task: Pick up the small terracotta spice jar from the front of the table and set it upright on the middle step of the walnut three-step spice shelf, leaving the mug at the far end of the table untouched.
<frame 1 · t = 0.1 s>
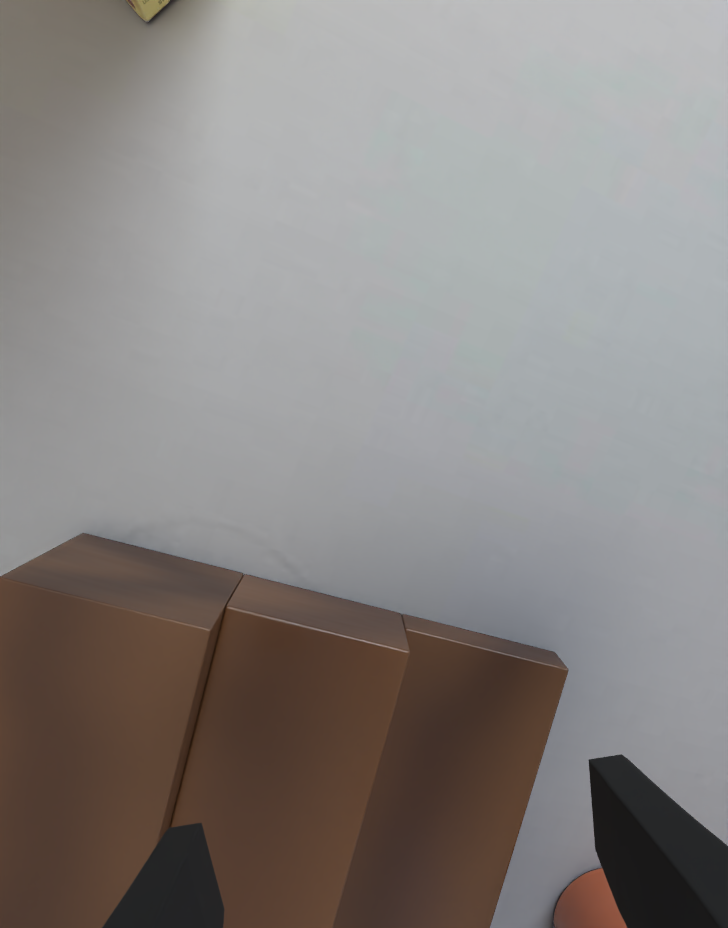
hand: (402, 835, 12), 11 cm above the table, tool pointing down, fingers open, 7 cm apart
spice shelf: (283, 743, 24), on the table
spice jar: (608, 917, 25), on the table
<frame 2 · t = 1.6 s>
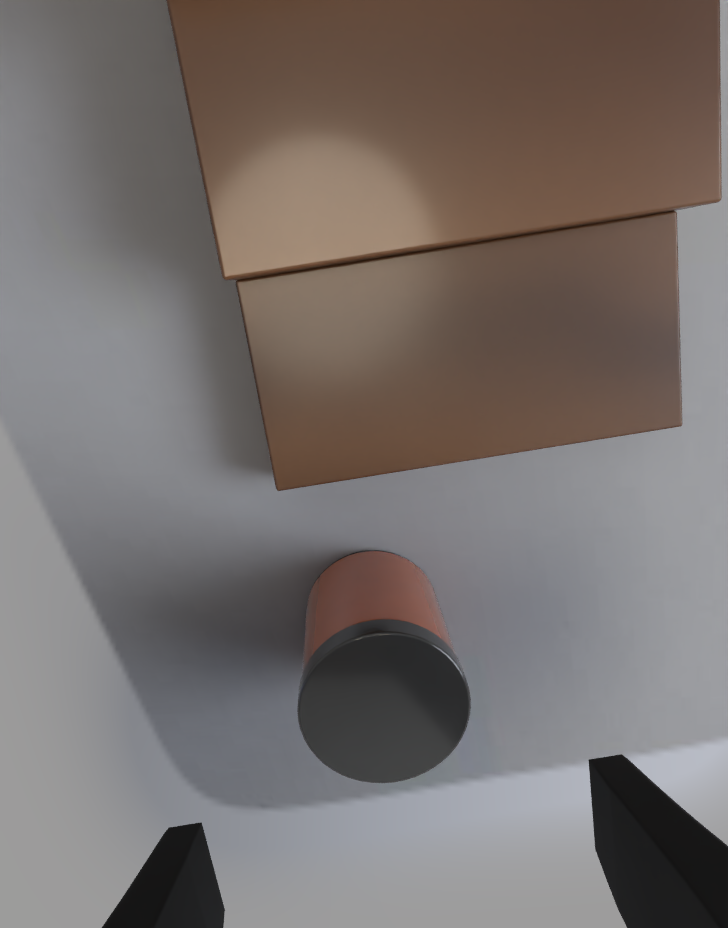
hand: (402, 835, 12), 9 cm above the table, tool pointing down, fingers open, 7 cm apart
spice shelf: (433, 136, 17), on the table
spice jar: (372, 610, 21), on the table
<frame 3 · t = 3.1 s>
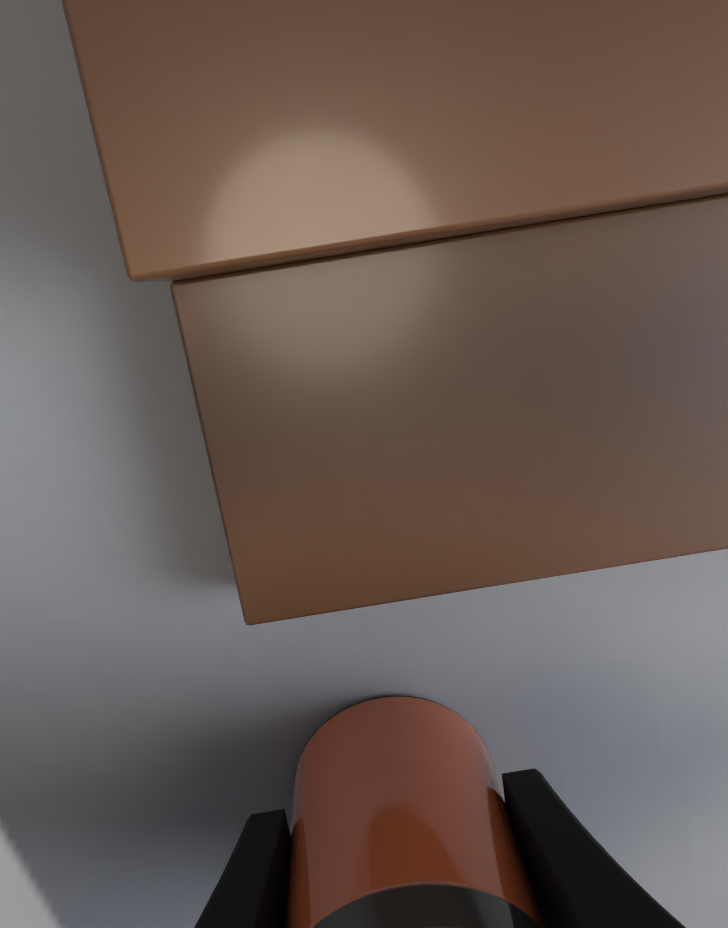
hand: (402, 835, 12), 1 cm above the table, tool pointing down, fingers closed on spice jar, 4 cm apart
spice shelf: (507, 38, 10), on the table
spice jar: (394, 780, 14), on the table, touching gripper
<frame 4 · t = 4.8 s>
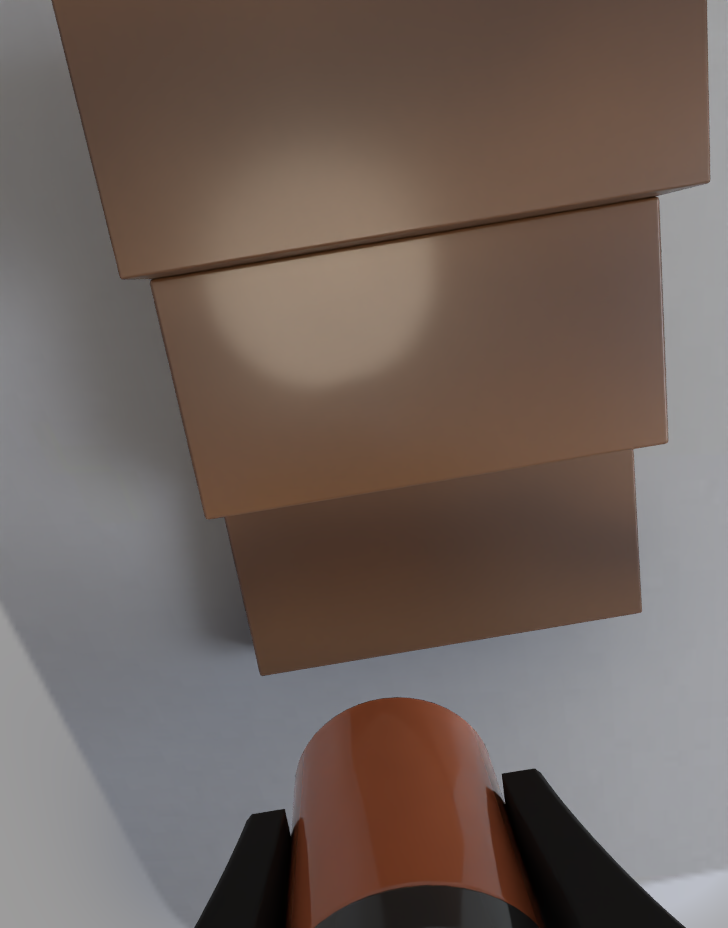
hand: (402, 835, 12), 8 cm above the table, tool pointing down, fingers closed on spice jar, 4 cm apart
spice shelf: (405, 349, 19), on the table
spice jar: (393, 781, 14), point 7 cm above the table, touching gripper
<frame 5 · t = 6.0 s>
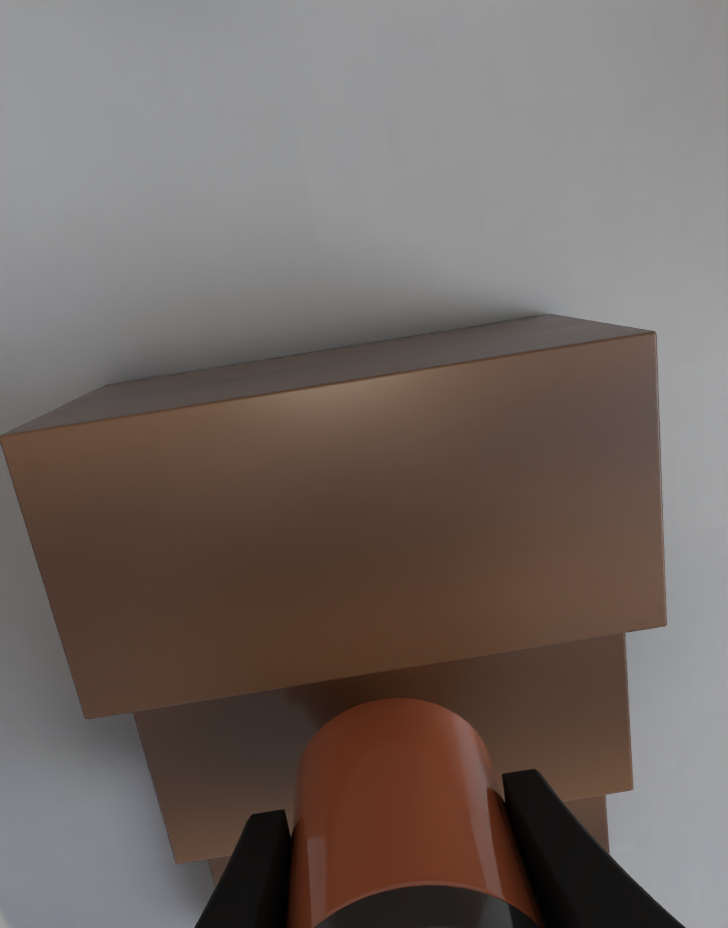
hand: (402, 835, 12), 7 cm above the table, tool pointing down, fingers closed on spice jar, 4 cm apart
spice shelf: (378, 648, 19), on the table
spice jar: (394, 781, 14), point 5 cm above the table, touching gripper
when the fingers open (5 cm above the table, at t = 6.9 s): spice jar stays where it is, resting on spice shelf.
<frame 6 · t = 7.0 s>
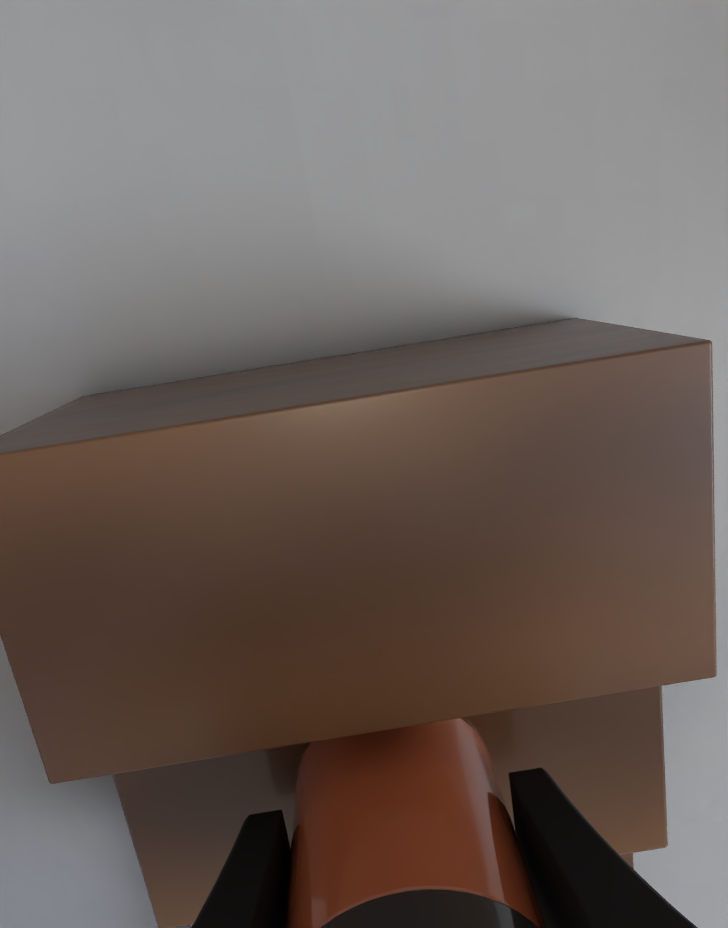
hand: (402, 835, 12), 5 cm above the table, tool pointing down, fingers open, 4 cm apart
spice shelf: (383, 683, 17), on the table
spice jar: (394, 784, 14), point 3 cm above the table, touching spice shelf
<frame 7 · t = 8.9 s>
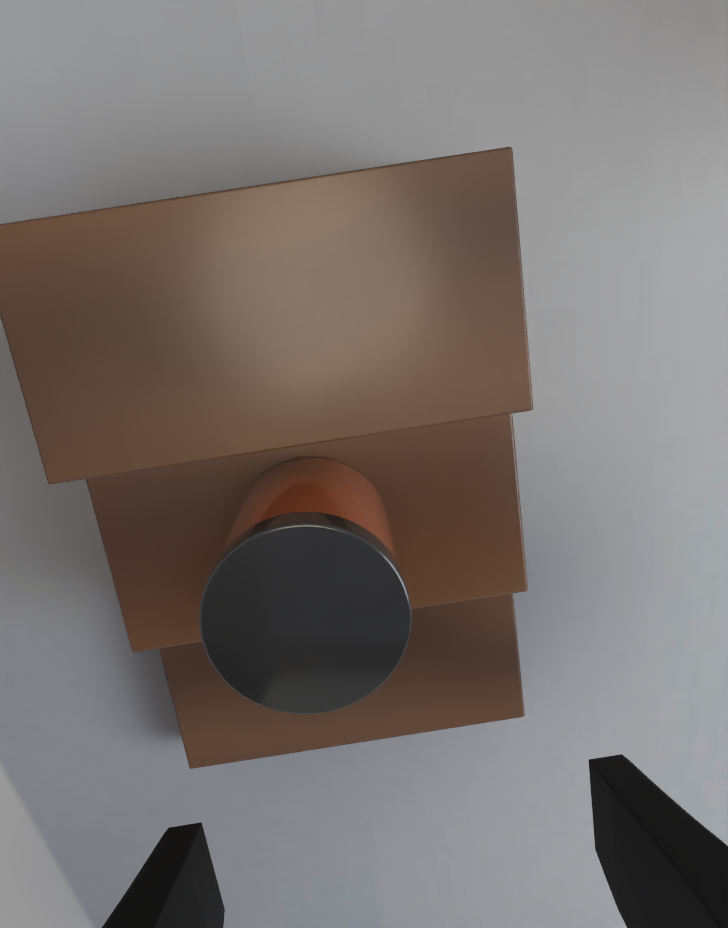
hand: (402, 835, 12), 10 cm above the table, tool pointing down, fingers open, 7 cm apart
spice shelf: (316, 489, 21), on the table
spice jar: (312, 530, 18), point 3 cm above the table, touching spice shelf
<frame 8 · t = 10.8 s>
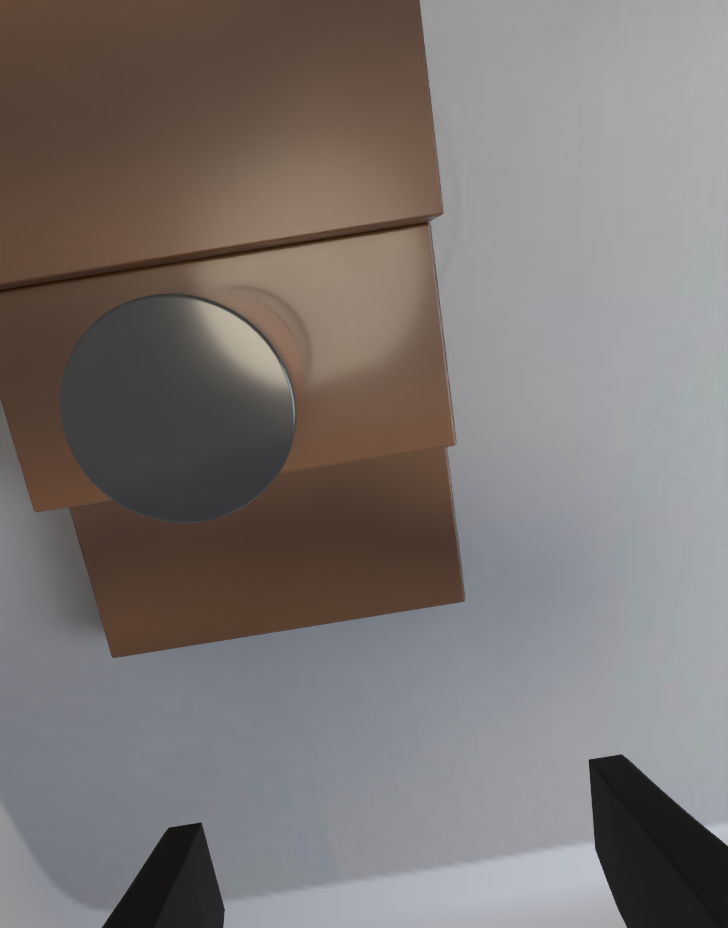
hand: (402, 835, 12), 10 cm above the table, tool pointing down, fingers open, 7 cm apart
spice shelf: (241, 357, 20), on the table
spice jar: (222, 374, 17), point 3 cm above the table, touching spice shelf
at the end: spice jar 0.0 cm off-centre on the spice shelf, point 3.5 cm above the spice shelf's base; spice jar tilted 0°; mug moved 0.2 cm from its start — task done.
